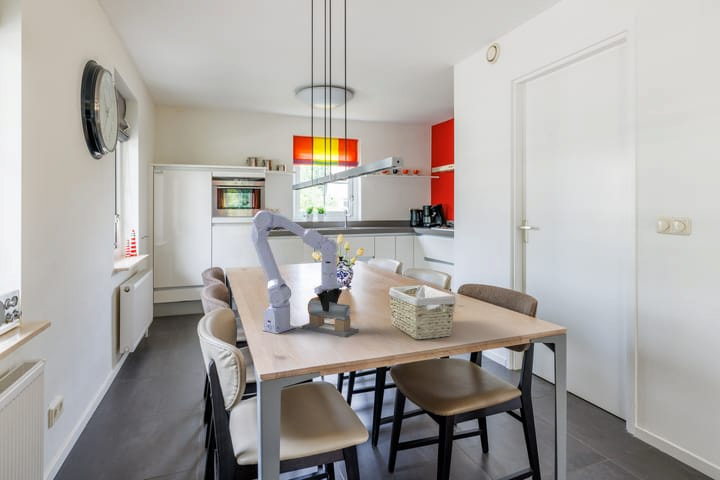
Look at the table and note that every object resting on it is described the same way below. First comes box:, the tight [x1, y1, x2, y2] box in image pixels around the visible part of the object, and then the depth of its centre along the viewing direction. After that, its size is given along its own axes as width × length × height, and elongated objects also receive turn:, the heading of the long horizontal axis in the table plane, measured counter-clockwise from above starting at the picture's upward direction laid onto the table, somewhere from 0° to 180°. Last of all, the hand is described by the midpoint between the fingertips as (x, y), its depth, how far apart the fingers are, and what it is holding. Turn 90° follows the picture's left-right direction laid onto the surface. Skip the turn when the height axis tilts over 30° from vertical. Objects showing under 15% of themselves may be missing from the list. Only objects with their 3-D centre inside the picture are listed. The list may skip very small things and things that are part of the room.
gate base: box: [301, 314, 359, 338], centre depth 145 cm, size 8×20×5 cm, turn 56°
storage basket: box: [388, 284, 457, 340], centre depth 145 cm, size 24×16×15 cm
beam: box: [308, 300, 351, 320], centre depth 145 cm, size 4×16×4 cm, turn 57°
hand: (329, 310), depth 145 cm, fingers open, 4 cm apart
